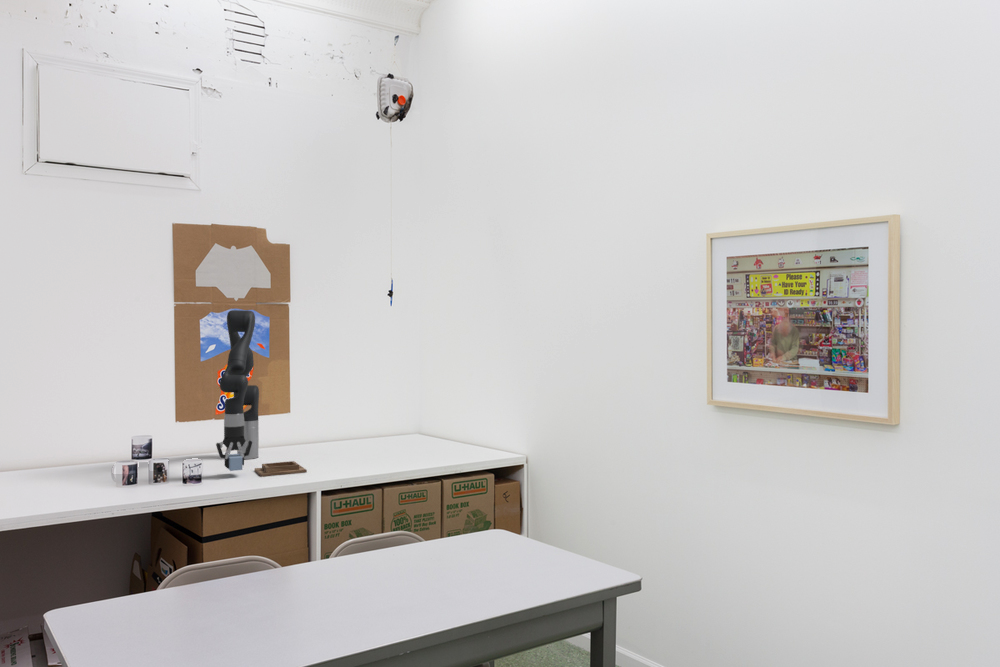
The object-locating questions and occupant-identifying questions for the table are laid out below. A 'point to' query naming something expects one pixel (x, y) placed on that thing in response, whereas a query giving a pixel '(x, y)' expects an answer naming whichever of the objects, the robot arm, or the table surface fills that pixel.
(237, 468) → the bar
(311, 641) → the table surface
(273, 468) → the tray
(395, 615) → the table surface
